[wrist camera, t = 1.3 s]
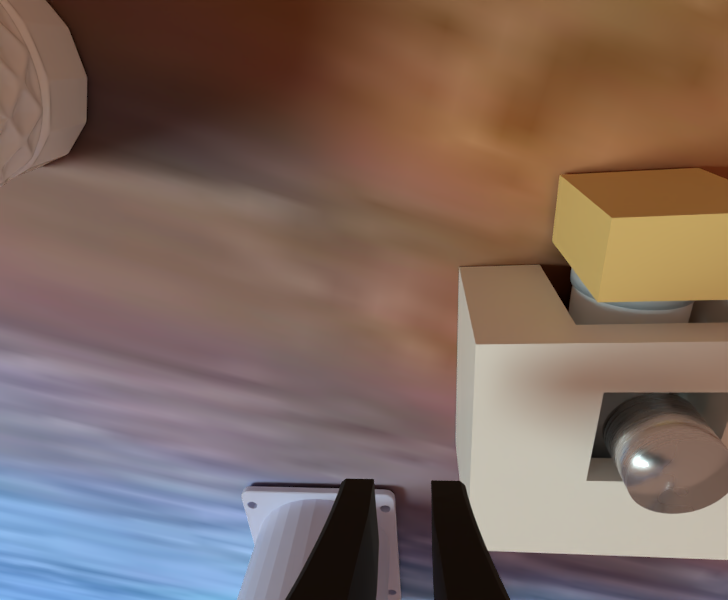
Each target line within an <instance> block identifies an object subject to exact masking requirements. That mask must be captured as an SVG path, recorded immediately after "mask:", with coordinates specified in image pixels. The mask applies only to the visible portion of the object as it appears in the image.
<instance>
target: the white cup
mask: <svg viewBox="0 0 728 600" xmlns="http://www.w3.org/2000/svg"><path fill="white" fill-rule="evenodd" d="M86 121H87V75H86V73H85V70H84V67H83V65H82V62H81V59H80V57H79V54H78V51H77V49H76V46H75V44H74V41H73V38H72V36H71V33H70V30H69V28H68V27H67V25H66V24H65V23H64V22H63V20H62V19H61V18H60V17H59V16H58V14H57V13H56V12H55V11H54V9H53V8H52V7H51V6H50V5H49V3H48V2H47V1H46V0H0V187H2V186H3V185H5V184H6V183H7V182H8V181H9V180H10V179H12V178H14V177H16V176H19V175H22V174H25V173H27V172H30V171H33V170H35V169H38V168H40V167H42V166H44V165H46V164H48V163H50V162H52V161H54V160H56V159H59V158H61V157H63V156H65V155H67V154H68V153H69V152H70V150H71V148H72V147H73V145H74V143H75V141H76V140H77V138H78V136H79V134H80V133H81V131H82V129H83V127H84V126H85V124H86Z"/></svg>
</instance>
